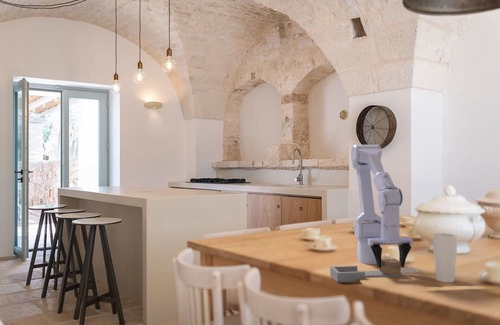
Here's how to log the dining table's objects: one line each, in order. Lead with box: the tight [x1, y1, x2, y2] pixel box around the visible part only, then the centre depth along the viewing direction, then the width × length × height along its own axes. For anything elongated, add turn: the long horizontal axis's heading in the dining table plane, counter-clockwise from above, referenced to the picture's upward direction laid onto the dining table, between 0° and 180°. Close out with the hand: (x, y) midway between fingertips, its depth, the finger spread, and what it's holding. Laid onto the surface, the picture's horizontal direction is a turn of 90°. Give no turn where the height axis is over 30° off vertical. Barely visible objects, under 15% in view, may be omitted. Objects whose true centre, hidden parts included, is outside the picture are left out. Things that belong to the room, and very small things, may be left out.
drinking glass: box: [432, 232, 458, 283], centre depth 147 cm, size 7×7×15 cm
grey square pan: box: [329, 265, 404, 283], centre depth 155 cm, size 9×22×3 cm, turn 95°
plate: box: [401, 266, 421, 274], centre depth 161 cm, size 7×7×1 cm
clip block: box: [379, 258, 402, 275], centre depth 155 cm, size 5×5×4 cm
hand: (390, 266), depth 155 cm, fingers open, 7 cm apart
